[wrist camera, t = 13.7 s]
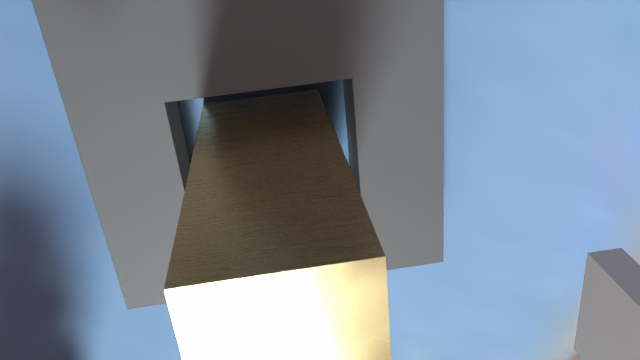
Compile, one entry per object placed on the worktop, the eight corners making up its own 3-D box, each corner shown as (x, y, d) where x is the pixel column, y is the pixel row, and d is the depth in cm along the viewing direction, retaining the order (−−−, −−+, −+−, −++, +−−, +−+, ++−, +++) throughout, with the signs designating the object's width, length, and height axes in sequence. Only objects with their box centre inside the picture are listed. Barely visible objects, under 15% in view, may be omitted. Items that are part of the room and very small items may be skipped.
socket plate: (417, -297, 17) (443, -328, 15) (426, 230, 26) (443, 261, 23) (-17, -260, 17) (-58, -287, 14) (137, 273, 25) (127, 309, 23)
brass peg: (317, 89, 22) (385, 256, 12) (327, 190, 24) (394, 413, 13) (203, 104, 22) (163, 289, 11) (223, 204, 24) (205, 445, 13)
